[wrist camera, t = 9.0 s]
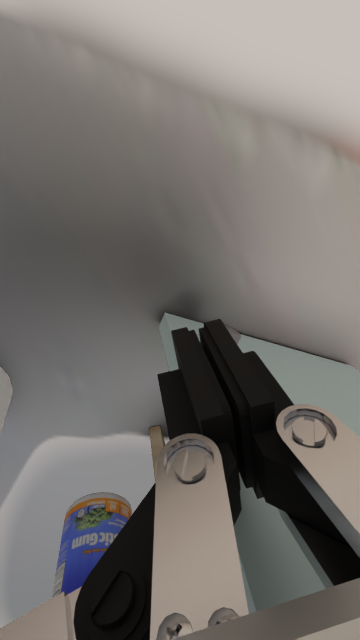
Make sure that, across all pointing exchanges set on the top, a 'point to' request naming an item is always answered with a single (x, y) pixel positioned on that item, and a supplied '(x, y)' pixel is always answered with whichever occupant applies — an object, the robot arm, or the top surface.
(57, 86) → the top surface
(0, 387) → the white cup
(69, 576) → the pill bottle
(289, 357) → the door
